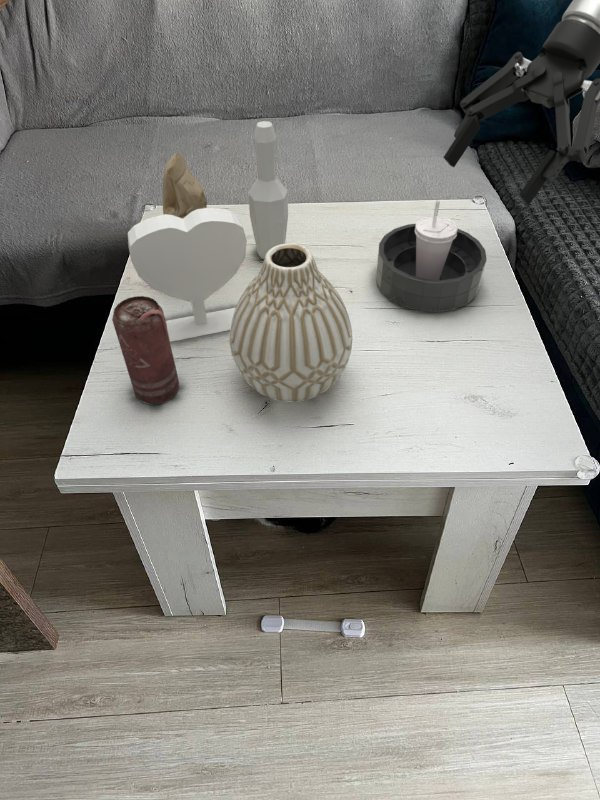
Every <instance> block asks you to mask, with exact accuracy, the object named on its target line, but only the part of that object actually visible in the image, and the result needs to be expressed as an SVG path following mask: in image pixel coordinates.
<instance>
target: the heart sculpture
mask: <svg viewBox="0 0 600 800" xmlns="http://www.w3.org/2000/svg"><path fill="white" fill-rule="evenodd" d="M247 242H248V241H247V235H246V233H245V229H244V227H243V224H242V222H241V219H240V217H239V215H238V214H236V213H235V212H233V211H232V210H229V209H224V208H219V207H217V208H216V207H215V208H214V207H207V208H203V209H196V210H194V211H192V212H191V213H189V214H188V215H187V216H186V217H184V218H183V219H182V218H179V217H176V216H174V215H168V214H164V215H163V214H160V215H159V214H157V215H155V216H152V217H148V218H146V219H143V220H142V221H140V222H138V223H136V224H135V225H133V226H132V227H131V228H130V230H128V232H127V245H128V252H129V257H130V262H131V263H132V266H133V267H134V270H135V273H136V274H137V276H138V278H140V279H141V280H142V281H143V282H144V283H145V284H147V285H148V286H149V287H150V288H151V289H153V290H155V291H157V292H159V293H162V294H164V295H167V296H169V297H170V298H175V299H179V300H182V301H187V302H190V303H191V307H192V314H193V315H189V316H185V317H179V318H173V319H168V320H165V321H166V324H167V331H168V335H169V340H170V343H172V342H176V341H182V340H187V339H191V338H192V339H193V338H196V337H202V336H206V335H211V334H217V333H221V332H226V331H227V332H228V331H230V328H231V322H232V318H233V314H234V311H235V308H236V307H231V308H226V309H221V310H216V311H211V312H206V307H205V300H207V298H209V297H211V296H212V295H213V294H215V293H216V292H217V291H220V289H222V288H223V287H225V285H226V284H227V283H228V282H230V281H231V280H232V279H233V277H235V275H237V274H238V271H239V269H240V267H241V266H242V264H243V262H244V261H245V259H246V252H247Z"/></svg>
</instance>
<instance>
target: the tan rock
mask: <svg viewBox="0 0 600 800" xmlns="http://www.w3.org/2000/svg"><path fill="white" fill-rule="evenodd" d="M207 204H208V199H207V197H206V194H205V190H204V187H203V186H202V184H201V182H199V180H197V179H196V177H195V175H193V173H192V172H191V170H190V169H189V168H188V165H187V161H186V157H185V156H184V155H183V154H182V153H180V152H175V153H174V154H172V156H171V158H169V159H168V161H167V163H166V164H165V167H164V172H163V178H162V215H164V214H168V215H174V216H176V217H179V218H182V219H183V218H184V217H186V216H187V215H188V214H189V213H191V212H192V211H194V210H196V209H203V208H208V205H207Z"/></svg>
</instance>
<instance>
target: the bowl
mask: <svg viewBox="0 0 600 800" xmlns="http://www.w3.org/2000/svg"><path fill="white" fill-rule="evenodd" d="M415 227H416V223H409V224H405V225H402V226H401V225H400V226H398V227H395V228H393V229H392V230H390V231H389V232H387V233H386V234H385V235H383V237H382V238H381V240H380V241H379V242H378V251H377V261H376V262H377V263H376V270H375V282H376V284H377V286H378V288H379V290H380V292H381V293H382V294H384V296H385V297H387V298H388V300H390V301H392V302H394V303H396V304H398V305H400V306H401V307H405V308H408V309H412V310H415V311H418V312H419V311H420V312H433V313H438V312H447V311H454V310H457V309H458V308H461V307H464V306H466V305H468V304H469V303H470V302H471V301H473V300H474V299H475V298H476V297H477V295H478V292H479V290H480V287H481V284H482V279H483V275H484V272H485V267H486V264H487V260H488V259H487V251H486V248H485V247H484V246H483V244H482V243H481V242H480V240H479V239H477V238H476V237H474V236H473V235H471V234H470V233H469V232H466V231H465V230H462V229H459V228H458V227H457V236H456V238H455V239H454V240H453V241H452V244H451V247H450V250H449V253H448V256H447V258H446V261H445V264H444V267H443V270H442V273H441V276H440V278H439V280H432V279H423V278H419V277H416V234H415Z"/></svg>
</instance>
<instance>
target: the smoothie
mask: <svg viewBox="0 0 600 800" xmlns="http://www.w3.org/2000/svg"><path fill="white" fill-rule="evenodd" d="M440 203H441V200H439V199H436V201H435V205H434V211H433V215H430V216H425V217H421V218H420V219H419V220H417V221H416V222H415V224H416V227H415V234H416V277H419V278H423V279H432V280H439V278H440V276H441V273H442V270H443V267H444V264H445V261H446V258H447V256H448V253H449V250H450V247H451V244H452V241H453V240H454V239H455V238H456V236H457V228H458V226H457V224H456V223H455V222H454V221H453V220H452V219H449V218H447V217H444V216H439V215H438V214H439V209H440Z"/></svg>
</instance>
